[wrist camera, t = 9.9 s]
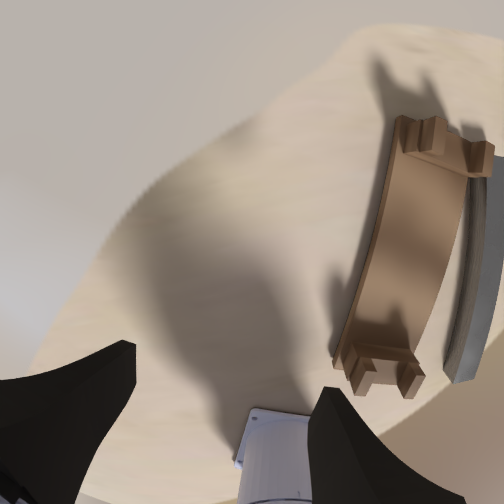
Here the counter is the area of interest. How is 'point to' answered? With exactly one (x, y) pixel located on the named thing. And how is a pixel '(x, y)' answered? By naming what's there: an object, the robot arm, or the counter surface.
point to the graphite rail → (479, 275)
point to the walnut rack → (408, 253)
